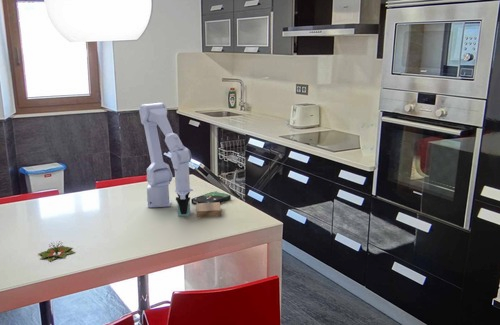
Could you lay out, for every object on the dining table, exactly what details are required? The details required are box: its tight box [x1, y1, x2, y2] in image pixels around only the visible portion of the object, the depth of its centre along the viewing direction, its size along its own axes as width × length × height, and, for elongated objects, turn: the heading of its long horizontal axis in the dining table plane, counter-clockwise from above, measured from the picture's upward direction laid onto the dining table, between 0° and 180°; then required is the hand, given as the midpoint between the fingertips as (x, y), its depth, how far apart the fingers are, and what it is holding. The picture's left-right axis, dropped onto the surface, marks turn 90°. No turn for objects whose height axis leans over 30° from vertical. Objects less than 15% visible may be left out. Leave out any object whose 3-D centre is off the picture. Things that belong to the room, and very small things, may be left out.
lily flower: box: [37, 240, 76, 262], centre depth 152 cm, size 12×12×5 cm
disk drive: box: [190, 191, 232, 206], centre depth 203 cm, size 10×3×15 cm
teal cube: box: [176, 199, 191, 217], centre depth 187 cm, size 5×5×5 cm
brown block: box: [195, 202, 222, 218], centre depth 189 cm, size 10×10×3 cm
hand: (184, 210), depth 187 cm, fingers open, 7 cm apart
